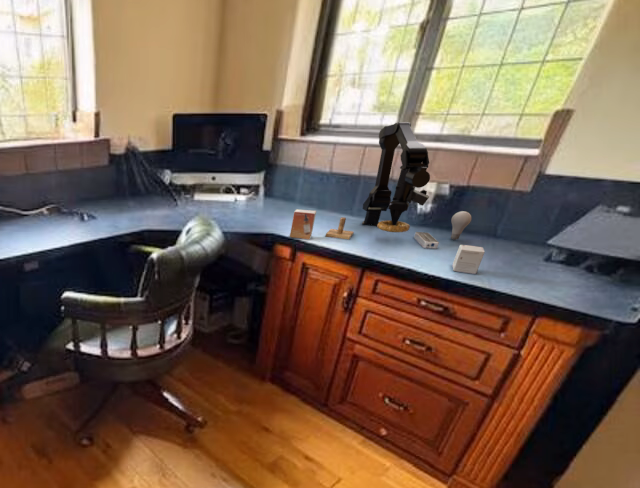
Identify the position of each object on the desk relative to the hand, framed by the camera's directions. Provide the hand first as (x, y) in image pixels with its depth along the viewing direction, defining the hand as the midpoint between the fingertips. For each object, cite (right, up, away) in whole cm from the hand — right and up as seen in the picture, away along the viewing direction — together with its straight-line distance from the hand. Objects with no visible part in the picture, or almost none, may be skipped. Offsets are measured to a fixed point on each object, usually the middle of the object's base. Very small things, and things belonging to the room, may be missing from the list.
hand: (394, 224), depth 166 cm
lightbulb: (+22, -7, -2) cm, 24 cm away
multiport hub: (+9, -9, -4) cm, 13 cm away
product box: (+3, -23, -30) cm, 38 cm away
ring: (-2, -2, -3) cm, 4 cm away
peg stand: (-18, -3, +7) cm, 20 cm away
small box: (-35, -4, +7) cm, 35 cm away
